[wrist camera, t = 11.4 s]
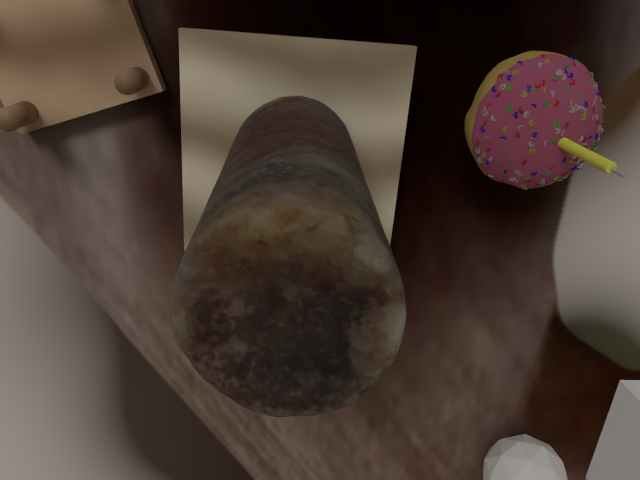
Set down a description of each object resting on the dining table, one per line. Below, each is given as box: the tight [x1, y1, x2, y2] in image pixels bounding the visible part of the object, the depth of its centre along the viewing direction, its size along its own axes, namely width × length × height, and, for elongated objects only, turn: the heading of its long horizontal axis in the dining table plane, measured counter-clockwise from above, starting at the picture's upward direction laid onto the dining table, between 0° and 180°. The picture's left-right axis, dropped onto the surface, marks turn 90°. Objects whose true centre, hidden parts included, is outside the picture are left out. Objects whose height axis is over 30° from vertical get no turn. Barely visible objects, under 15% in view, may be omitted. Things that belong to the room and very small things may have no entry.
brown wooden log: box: [169, 96, 406, 417], centre depth 24 cm, size 8×7×20 cm
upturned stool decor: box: [0, 0, 166, 135], centre depth 32 cm, size 10×10×4 cm
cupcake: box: [465, 51, 625, 190], centre depth 32 cm, size 9×8×12 cm
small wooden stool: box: [179, 28, 417, 251], centre depth 36 cm, size 14×14×4 cm
